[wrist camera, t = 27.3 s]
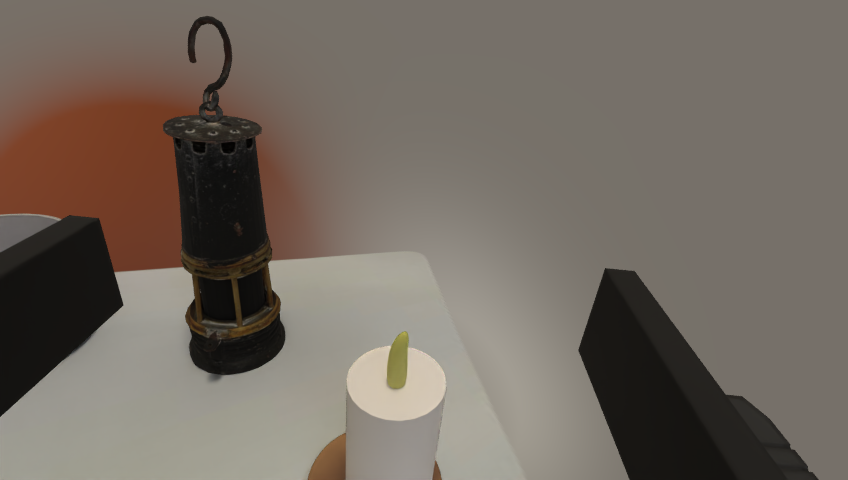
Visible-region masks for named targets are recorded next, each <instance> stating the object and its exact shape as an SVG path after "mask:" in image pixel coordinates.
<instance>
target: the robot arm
mask: <svg viewBox="0 0 848 480" xmlns="http://www.w3.org/2000/svg"><path fill="white" fill-rule="evenodd" d="M122 306H123V302H122V298H121V295H120V291H119V287H118V284H117V280H116V277H115V273H114V270H113V267H112V263H111V259H110V256H109V252H108V248H107V245H106V241H105V238H104V234H103V231H102V227H101V224H100V220H99V218H90V217H81V216H71V215H69V216H67V217H65V218H63V219H62V220H60V221H58V222H56V223H54V224H52V225H50V226H49V227H47V228H45V229H43V230H41V231H39V232H37V233H35V234H34V235H32V236H30V237H28V238H26V239H24V240H22V241H20V242H19V243H17V244H15V245H13V246H11V247H9V248H7V249H5V250H4V251H2V252H0V417H1V416H2V415H3V414H4V413H5V412H6V411H7V410H8V409H9V408H11V407H12V406H13V405H14V404H15V403H16V402H17V401H18V400H19V399H20V398H22V397H23V396H24V395H25V394H26V393H27V392H28V391H29V390H30V389H32V388H33V387H34V386H35V385H36V384H37V383H38V382H39V381H40V380H41V379H43V378H44V377H45V376H46V375H47V374H48V373H49V372H50V371H51V370H53V369H54V368H55V367H56V366H57V365H58V364H59V363H60V362H61V361H62V360H64V359H65V358H66V357H67V356H68V355H69V354H70V353H71V352H72V351H74V350H75V349H76V348H77V347H78V346H79V345H80V344H81V343H82V342H83V341H85V340H86V339H87V338H88V337H89V336H90V335H91V334H92V333H93V332H95V331H96V330H97V329H98V328H99V327H100V326H101V325H102V324H103V323H105V322H106V321H107V320H108V319H109V318H110V317H111V316H112V315H113V314H114V313H116V312H117V311H118V310H119V309H120V308H121V307H122ZM579 353H580V355H581V358H582V361H583V363H584V365H585V368H586V370H587V373H588V375H589V378H590V381H591V383H592V385H593V388H594V391H595V393H596V396H597V398H598V401H599V403H600V406H601V409H602V411H603V414H604V416H605V419H606V421H607V424H608V426H609V429H610V431H611V434H612V436H613V439H614V441H615V444H616V446H617V449H618V451H619V454H620V457H621V459H622V462H623V464H624V466H625V469H626V472H627V474H628V477H629V479H630V480H818V479H817V477H816V476H815V475H814V474H813V472H809V471H808V466H807V465H806V464H805V463H804V461H803V460H802V459H801V457H800V456H799V455H798V454H797V452H796V451H795V450H791V448H790V444H789V442H788V441H787V440H786V439H785V438H784V436H783V435H782V434H781V432H780V431H779V430H778V429H777V428H776V426H775V425H774V424H773V422H772V421H771V420H770V419H769V418H768V417H767V416H766V415H764V414H763V413H762V412H761V411H759V410H758V409H757V408H755V407H754V406H753V405H752V404H751V403H750V402H748V401H747V400H746V399H745V398H743V397H742V396H733V395H725V393H724V392H723V391H722V389H721V388H720V386H719V385H718V384H717V382H716V381H715V380H714V378H713V377H712V376H711V374H710V373H709V372H708V371H707V369H706V367H705V366H704V365H703V363H702V362H701V361H700V359H699V358H698V357H697V355H696V354H695V352H694V351H693V350H692V348H691V347H690V346H689V344H688V343H687V342H686V340H685V339H684V338H683V336H682V335H681V333H680V332H679V331H678V329H677V328H676V327H675V325H674V324H673V323H672V322H671V320H670V319H669V317H668V316H667V315H666V313H665V312H664V311H663V309H662V308H661V306H660V305H659V304H658V302H657V301H656V300H655V298H654V297H653V295H652V294H651V293H650V291H649V290H648V289H647V287H646V286H645V285H644V283H643V282H642V281H641V279H640V278H639V276H638V275H637V274H636V272H635V271H627V270H617V269H606V268H605V270H604V274H603V277H602V280H601V283H600V286H599V289H598V292H597V295H596V298H595V301H594V304H593V307H592V310H591V313H590V316H589V319H588V323H587V325H586V328H585V331H584V335H583V337H582V341H581V344H580V347H579Z"/></svg>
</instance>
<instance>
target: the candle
mask: <svg viewBox="0 0 848 480" xmlns="http://www.w3.org/2000/svg"><path fill="white" fill-rule="evenodd" d="M408 341H409V338H408V333H407V332H402V333H401V334H399V335H398V336H397V337H396V339H395V340H394V342H393V344H392V346H384V347H380V348H376V349H373V350H371V351H369V352H367V353H365V354H363V355H362V356H360V357H359V358H358V359H357V360H356V361H355V362H354V363H353V365H352V366H351V368H350V370H349V372H348V376H347V380H346V480H432V478H433V472H434V465H435V459H436V452H437V446H438V439H439V433H440V426H441V420H442V413H443V407H444V400H445V394H446V377H445V375H444V372H443V369H442V368H441V367H440V365H439V364H438V363H437V362H436V361H435V360H434V359H433V358H432V357H430V356H429V355H428V354H426V353H424V352H422V351H420V350H418V349H414V348H410V347H408Z"/></svg>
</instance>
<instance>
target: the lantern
mask: <svg viewBox="0 0 848 480" xmlns="http://www.w3.org/2000/svg"><path fill="white" fill-rule="evenodd" d="M207 23H208V24H213V25H214V26H216V27H217V28H218V30H219V32H220V34H221V36H222V39H223V41H224V52H225V62H224V66H223V70H222V73H221V75H220V78H219V79H218V80H217V81H216V82H215V83H212V84H210V85H208V87H207V88H206V89H205V90H204V94H203V104H202V105H201V106H200V107H199V114H200V115H190V116H182V117H176V118H173V119H170V120H168V121H166V122H165V123H164V124H163V131H164V132H165V133H166V134H168V135H170V136H172V137H173V140H174V148H175V157H176V167H177V176H178V185H179V195H180V212H181V227H182V249H181V257H182V259H181V261H182V264H183V267H184V269H185V270H187V271H188V272H189V273H191V274H192V278H193V287H194V296H195V299H194V300H193V302H192V303H191V304H190V306H189V307H188V309H187V312H186V315H185V318H186V322H187V324H188V325H189V328H190V331H191V334H192V338H191V341H190V344H189V349H190V355H191V358H192V360H193V362H194V363H195V365H196V366H198V367H199V368H201V369H203V370H205V371H207V372H208V373H215V374H235V373H242V372H246V371H249V370H252V369H255V368H258V367H260V366H262V365H263V364H265V363H266V362H268V361H270V360H271V359H273V358H274V357H275V356H276V355H277V354H278V353H279V351H280V350H281V349H282V347H283V344H284V341H285V330H284V326H283V324H282V323H281V321H280V314H279V312H280V305H281V301H280V299H279V297H278V296H277V294H276V293H275V292H274V291H273V290H272V288H271V281H270V274H269V268H268V263H269V261H270V260H271V258H272V248H271V247H270V240H269V238H268V234H267V231H266V223H265V215H264V207H263V199H262V191H261V183H260V175H259V168H258V158H257V150H256V141H255V136H257V135H259V134H261V132H262V127H261V126H259V125H258V124H257V123H255V122H252V121H249V120H246V119H242V118H238V117H229V116H223V111H222V109H221V108H220V107H219V106H218V102H219V95H218V93H217V91H215V90H218V89H220V88H221V87H222V86H223V85H224V84H225V82H226V80H227V78H228V76H229V72H230V68H231V62H232V51H231V44H230V39H229V37H228V34H227V32H226V30H225V28H224V26H223V24H222V22H220V21H219V20H217V19H215V18H214V17H210V16H205V17H200V18H198V19H197V20H196V21H195V22H194V23H193V25H192V27H191V29H190V31H189V37H188V55H189V60H190V62H192V63H195V62H196V58H195V49H194V46H195V36H196V33H197V31H198V29H199V28H200V26H201V25H204V24H207ZM212 92H213V95H212V99H211V101H209V98H210V94H211V93H212ZM205 109H206V110H207V111H216V115H206V113H205ZM200 291H201V293H200Z"/></svg>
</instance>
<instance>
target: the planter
mask: <svg viewBox="0 0 848 480" xmlns="http://www.w3.org/2000/svg"><path fill="white" fill-rule="evenodd" d="M60 220H61V219H58V218H55V217H51V216H46V215H38V214H6V215H0V252H2V251H4V250H5V249H7V248H9V247H11V246H13V245H15V244H17V243H19V242H20V241H22V240H24V239H26V238H28V237H30V236H32V235H34V234H35V233H37V232H39V231H41V230H43V229H45V228H47V227H49V226H50V225H52V224H54V223H56V222H58V221H60Z"/></svg>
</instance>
